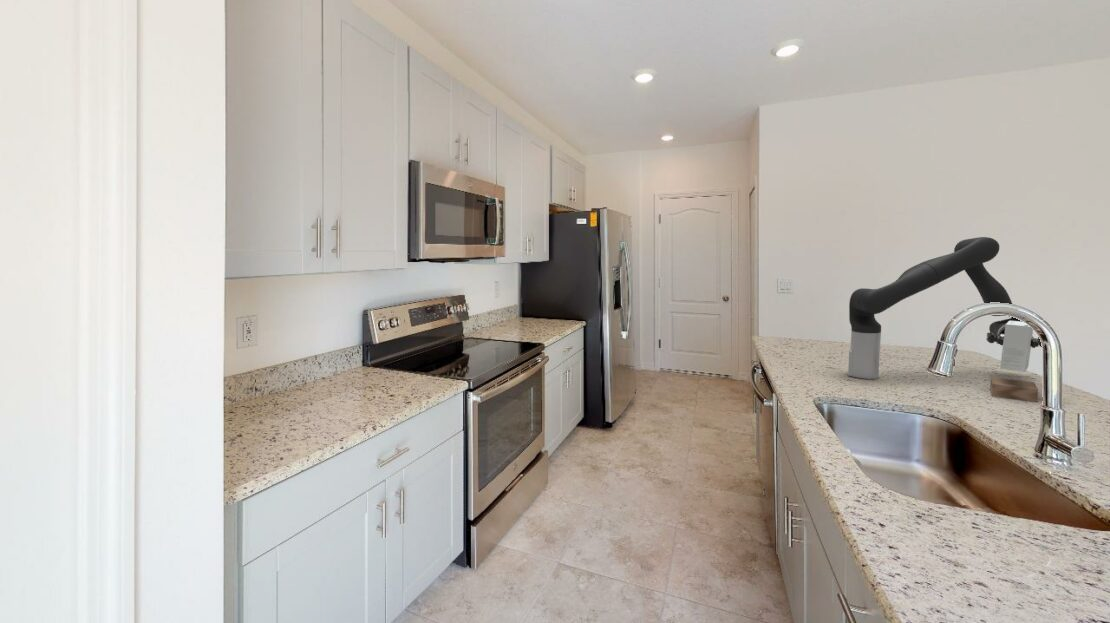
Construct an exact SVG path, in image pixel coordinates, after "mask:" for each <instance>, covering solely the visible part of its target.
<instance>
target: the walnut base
mask: <svg viewBox="0 0 1110 623" xmlns="http://www.w3.org/2000/svg"><path fill="white" fill-rule="evenodd" d="M989 392H990V395H991V397H997V398H1004V399H1010V400H1012V399H1013V400H1020V401H1024V402H1025V401H1026V402H1034V403H1037V402H1038V393H1039V388H1038V387H1037V385H1036V383H1035V382H1034V381H1027V380H1019V379H1018V380H1017V379H1011V378H1010V379H1009V378H999V377H990V386H989Z"/></svg>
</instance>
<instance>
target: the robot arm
mask: <svg viewBox="0 0 1110 623" xmlns="http://www.w3.org/2000/svg"><path fill="white" fill-rule="evenodd" d="M999 251H1000V244H999V242H998V241H997V240H996V239H994V238H993V237H988V236H980V237H979V236H978V237H972V238H967V239H962V240H960V241H958V242H957V244H956V245H955V246H954V249H953V252H950V253H948V254H945V255H940V256H938V257H935V258H932V259H928V260H925V261H922V262H920V263H918V264H916V265H913V266H912V267H909V268H908V269H906V270H904V272H902V273H901V274H900V275H899V277H898V278H897V279H896V280H895V281H893V282H891V283H889V284H887V285H884V286H882V287H879V288H862V287H861V288H857V289H855V290H854V291H853V292H852V293H851V296H850V298H849V302H848V303H849V304H848V306H849V307H848V308H849V312H848V313H849V314H848V317H849V318H848V319H849V320H848V321H849V324H850V326H851V328H850V329H851V331H850V332H851V334H850V349H849V352H848V366H847V368H848V369H847V376H848V377H854V378H857V379H866V380H873V379H875V380H877V379H879V374H880V370H879V369H880V356H881V341H882V340H881V338H882V325H881V323H879V322H878V321H877V319H876V317H875V315H878V314H880V313H882V312H885V311H886V310H888V309H890V308H891V307H893V306H895V305H896V304H898V303H900V302H901V301H903V300H905V299H907V298H910V297H912V296H914V295H916V294H918V293H920V292H923V291H926V290H927V289H929V288H932V287H933V286H936V285H937V284H939V283H941V282H943V281H945V280H948V279H950V278H952V277H953V276H955V275H957V274H959V273H962V272H963V271H964V272H965V273H966V275H967V276H968V278H969V279H970V280H971V282H972V284H973V285H974V286H975V288H976V289H977V292H978V293H979V295H980V297H981V300H982V302H983V304H984V303H990V302H1000V303H1009V304H1013V301H1012V299H1011V298H1010V295H1009V293H1008V291H1007V289H1005V287H1004V286H1003V285H1002V283H1000V282H999V281H998V280H997V279H996V278H995V277H994V276H993V275H991V273H989V271H988V270H987V269H986V267H985V266H984V263H987V262H990V261H992V260H993V259H994V258H996V257H997V255H998V254H999ZM991 316H993V317H1001V316H1002V317H1003V316H1005V317H1007V316H1006V315H991ZM1008 317H1009V318H1005V319H1001V320H998V321H993V322H992V323H990V325H989V332H987V333H986V341H987V342H988V343H989V344H994V343H996V344H998V345H1000V346H1003V341H1004V334H1005V325H1006V323H1007V322H1008V321H1020V320H1018V319H1016V318H1013V317H1010V316H1008ZM1020 322H1022V321H1020ZM1039 337H1040V336H1038V337H1034V335H1032V339H1031V349H1036V348H1037V347H1038V348H1039V347H1040V348H1043V347H1042V346H1041V342H1040V339H1039Z"/></svg>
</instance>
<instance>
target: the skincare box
mask: <svg viewBox="0 0 1110 623" xmlns="http://www.w3.org/2000/svg"><path fill="white" fill-rule="evenodd" d="M1033 333H1034V328H1033V329H1032V328H1031V327H1030V326H1029V325H1027V324H1026V323H1024V322H1020V321H1008V322H1007V323H1006V325H1005V334H1004V341H1003V345H1002V352H1001V358H1000V366H999V369H1002V370H1007V371H1015V372H1021V373H1022V372H1023V373H1026V372H1027V369H1028V368H1029V363H1030V358H1031V357H1030V356H1031V349H1032V347H1031V339H1032V336H1033Z"/></svg>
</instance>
